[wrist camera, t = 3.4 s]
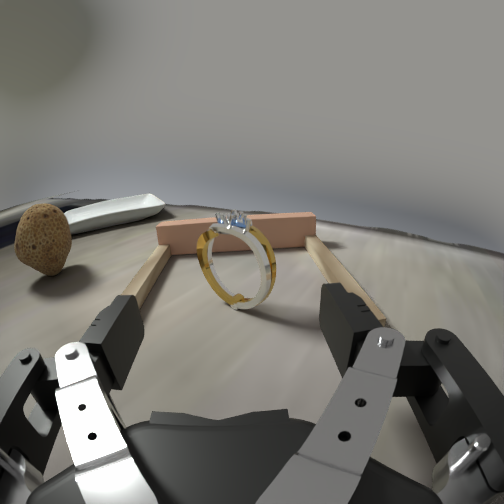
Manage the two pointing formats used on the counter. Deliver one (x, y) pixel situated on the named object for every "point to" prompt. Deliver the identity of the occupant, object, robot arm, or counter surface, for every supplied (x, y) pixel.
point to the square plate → (113, 212)
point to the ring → (254, 240)
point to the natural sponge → (43, 239)
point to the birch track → (312, 243)
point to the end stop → (271, 225)
